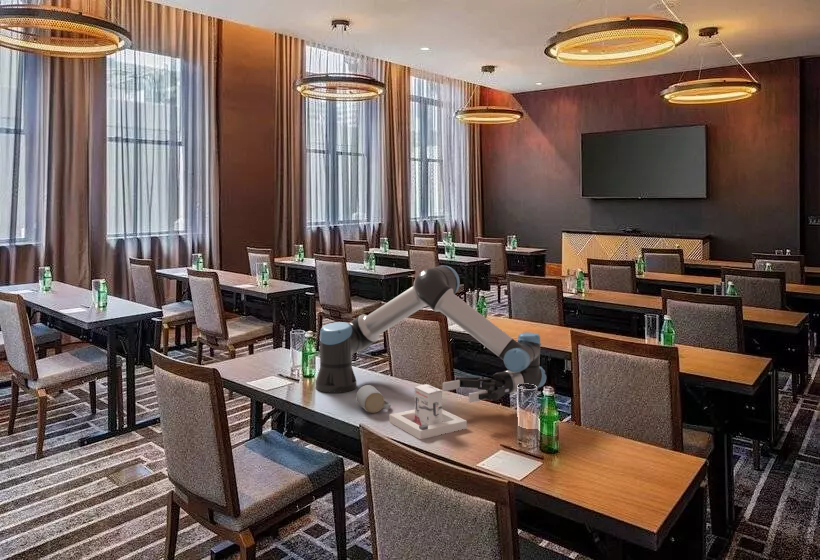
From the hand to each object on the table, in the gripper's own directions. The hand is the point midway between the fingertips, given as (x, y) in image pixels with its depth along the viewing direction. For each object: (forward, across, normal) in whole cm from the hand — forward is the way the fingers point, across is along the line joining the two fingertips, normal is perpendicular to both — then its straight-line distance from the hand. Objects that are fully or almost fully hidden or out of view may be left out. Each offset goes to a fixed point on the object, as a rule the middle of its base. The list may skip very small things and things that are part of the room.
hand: (455, 392), depth 195 cm
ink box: (+11, 0, -9) cm, 14 cm away
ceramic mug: (+17, +22, -9) cm, 29 cm away
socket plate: (+11, 0, -9) cm, 14 cm away
